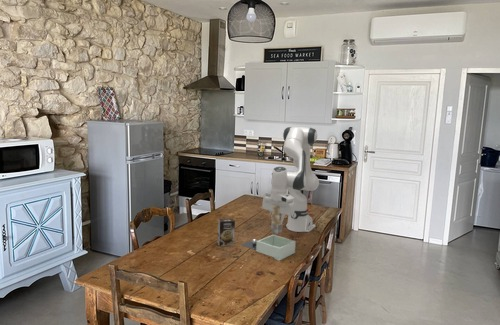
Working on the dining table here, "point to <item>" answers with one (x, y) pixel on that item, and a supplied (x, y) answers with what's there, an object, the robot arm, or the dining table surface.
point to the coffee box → (226, 232)
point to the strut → (276, 220)
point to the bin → (276, 247)
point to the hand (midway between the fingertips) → (277, 219)
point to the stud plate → (251, 244)
